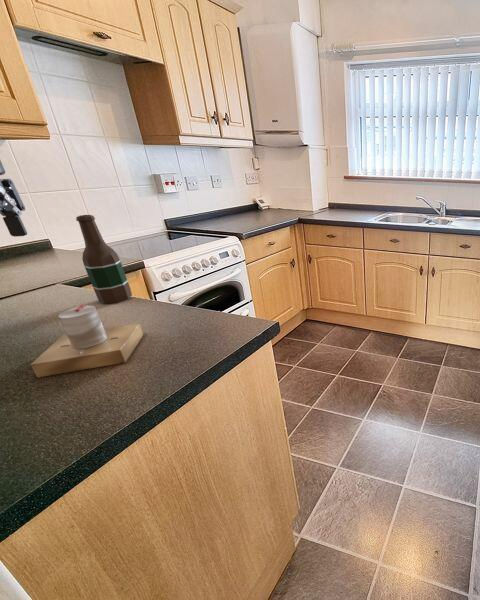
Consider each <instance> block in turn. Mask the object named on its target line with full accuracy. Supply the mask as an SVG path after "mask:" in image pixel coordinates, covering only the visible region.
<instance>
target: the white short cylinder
mask: <svg viewBox="0 0 480 600" xmlns="http://www.w3.org/2000/svg"><path fill="white" fill-rule="evenodd" d="M57 317H58V319H59V321H60V323H61V326H62V327H63V330H64V331H65V334H67V336H68V338H69V340H70V343H71V345H72V347H73V348H76V349H82V348H88V347H92V346H95V345H98V344H100V343H102V342H104V341H105V340H106V339H107V334H106V332H105V330H104V329H105V327H104V325H103V323H102V320H101V318H100V316H99V313H98V310H97V308H96V306H94V305H86V304H80V305H79V306H77V307H73V308H69V309H67V310H66V309H65V310H63V311H61V312H60V313H59V314H58V315H57Z"/></svg>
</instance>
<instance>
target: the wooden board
mask: <svg viewBox="0 0 480 600" xmlns="http://www.w3.org/2000/svg"><path fill="white" fill-rule="evenodd" d="M104 330H105V332H106V334H107V339H106V340H105V341H104V342H102V343H100V344H98V345H95V346H92V347H88V348H82V349H76V348H73V347H72V345H71V343H70V340H69V338H68V336H67V334H66V333H64V334H62V335H61V336H59V338H58V339H56V340H55V341H54V342H53V343H52V344H51V345H50V346H49V347H48V348H47V349H46V350H44V352H42V353H41V354H40V355H39V356H38V357H37V358H36V359H34V361H33V362H31V363H30V366H31V368H32V370H33V372H34V374H35V376H36V377H37V378H42V377H49V376H54V375H61V374H66V373H71V372H77V371H83V370H90V369H95V368H100V367H107V366H113V365H117V364H118V365H119V364H124V363H126V362H127V361H128V359H129V358H130V356H131V355H132V353H133V352H134V350H135V349H136V347H137V346H138V344H139V342H140V341H141V340H142V338H143V336H144V333H143V330H142V327H141V325H140V323H134V324H127V325H120V326H114V327H107V328H104Z"/></svg>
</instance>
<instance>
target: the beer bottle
mask: <svg viewBox="0 0 480 600" xmlns="http://www.w3.org/2000/svg"><path fill="white" fill-rule="evenodd" d="M95 220H96V218H95V216H94V215H92V214H81V215H77V216H76V219H75V221H77V222H78V224H79V227H80V232H81V234H82V237H83V240H84V246H85V247H84V249H83V252H82V256H81V257H82V258H81V259H82V263H83V266H84V269H85V271H86V274H87V277H88V278H89V281H90V283H91V286H92V288H93V291H94V293H95V295H96V298H97V301H98V302H99V303H102V304H104V305H109V304H118V303H121V302H125V301H127V300H129V299H130V298H131V297H132V296H133V293H132V289H131V286H130V283H129V281H128V278H127V276H126V273H125V270H124V267H123V264H122V261H121V259H120V257H119V255H118V253H117V252H116V251H115V250H114V249H113V248H112V247H110V246H109V245H108V244H107V243H106V241H105V240H104V238H103V236H102V233H101V232H100V229H99V227H98V225H97V223H96V221H95Z"/></svg>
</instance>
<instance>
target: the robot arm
mask: <svg viewBox="0 0 480 600" xmlns="http://www.w3.org/2000/svg"><path fill="white" fill-rule="evenodd" d="M5 174H6V170H5V167H4V165H3V163H2V161H1V160H0V176H3V175H5ZM24 211H26V205H25V204H24V202H23V200H22V198H21V196H20V194H19V192H18V190H17V188H16V186H15V184H14V182H13V180H12V179H11V178H0V215H1V216H2V220H3V222H4V224H5V227H6V228H7V231H8V232H9V235H10V236H11V237H14V238H15V237H24V236H27V235H28V231H27V229H26V227H25V225H24V223H23V220H22V218H21V216H22V212H24Z"/></svg>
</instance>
